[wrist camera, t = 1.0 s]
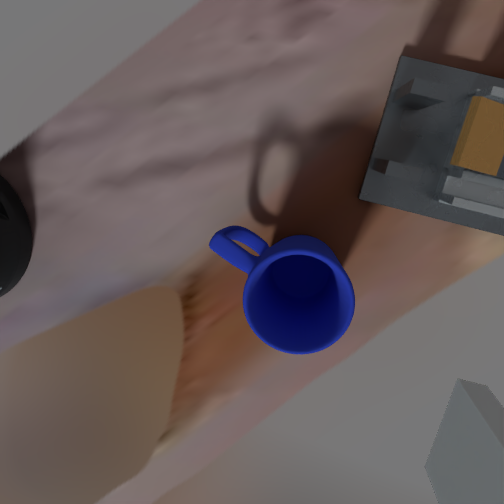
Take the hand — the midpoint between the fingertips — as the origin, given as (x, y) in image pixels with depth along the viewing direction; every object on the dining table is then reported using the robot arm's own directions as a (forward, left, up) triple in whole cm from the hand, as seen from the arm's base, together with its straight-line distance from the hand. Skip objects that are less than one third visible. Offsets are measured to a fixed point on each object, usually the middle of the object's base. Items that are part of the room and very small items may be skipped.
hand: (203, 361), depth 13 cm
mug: (+2, -4, -31) cm, 32 cm away
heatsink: (+17, +9, -31) cm, 36 cm away
